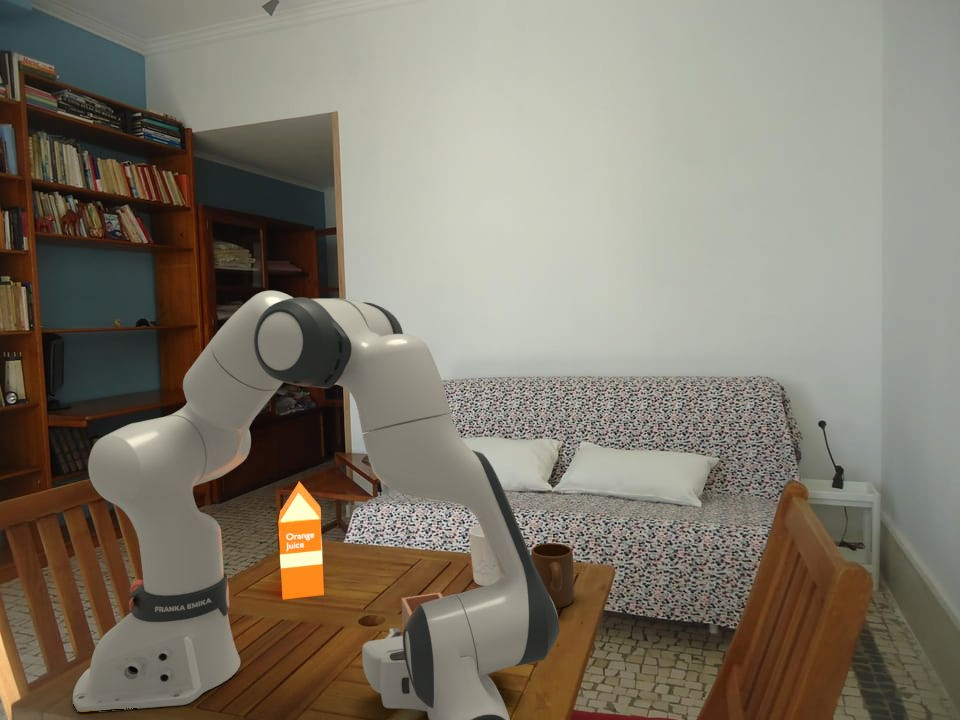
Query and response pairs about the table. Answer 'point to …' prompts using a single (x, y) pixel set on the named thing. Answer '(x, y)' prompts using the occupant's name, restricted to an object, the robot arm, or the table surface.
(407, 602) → the pink square pot
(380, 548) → the table surface
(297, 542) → the orange juice
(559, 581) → the mug
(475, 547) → the white cup
